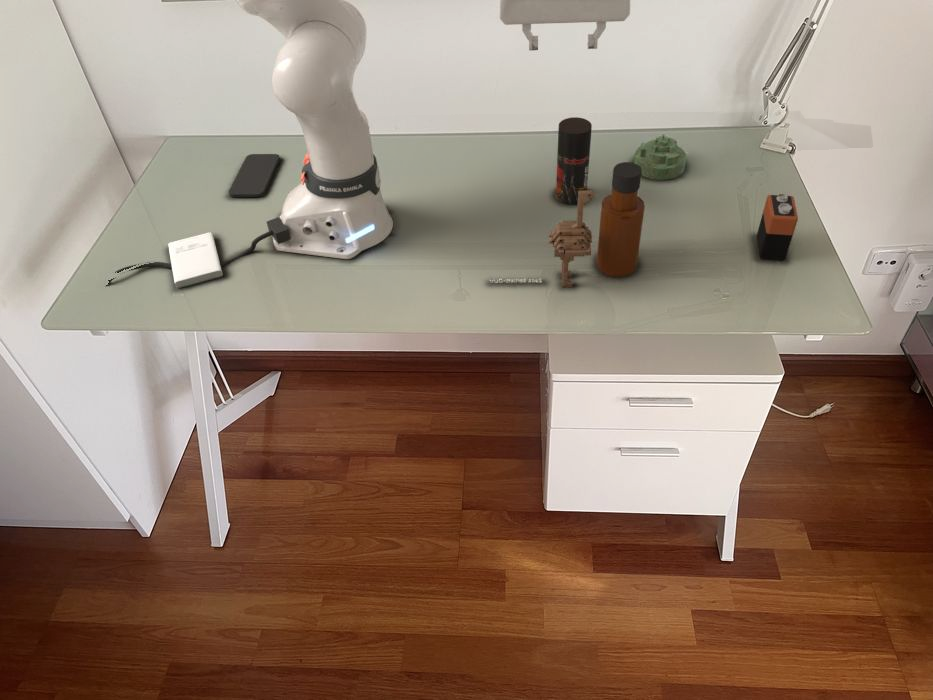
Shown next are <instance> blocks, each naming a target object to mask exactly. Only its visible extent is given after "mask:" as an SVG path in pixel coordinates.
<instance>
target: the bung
mask: <svg viewBox="0 0 933 700" xmlns="http://www.w3.org/2000/svg"><path fill="white" fill-rule="evenodd" d="M641 174H642V169H641V167H640V166H639V165H637V164H635V163H634V162H631V161H623V162H618V163H617V164H615V165H614V166H613V169H612V179H611V189H612V188H613V189H614V190H615V191H617V192H619V193H624V194H629V193H634V192H636V191H638V192H639V190H640V187H641V180H642V175H641Z"/></svg>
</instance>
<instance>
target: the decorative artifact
mask: <svg viewBox="0 0 933 700" xmlns="http://www.w3.org/2000/svg"><path fill="white" fill-rule="evenodd" d="M677 142H678V141H677V140H676V139H674V138H671V137H669V136H666V135H665V134H662V135H661V136H658V137H656V138H654V139H652V140H649V141H647V142H643V141H642V142H641V144H640V146H639V147H637V149H636V150H635V152H634V158H633V163H635V164H637V165H639V166H640V167H641V169H642V174H641V177H644V178H647V179H650V180H656V181H668V180H673V179H675V178H678V177H679V176H681V175H682V174H683V173H684V171H685V167H686V163H687V162H686V161H687V153H686V151H685V150H684V149H683V148H682V147H680V146H678V144H677Z"/></svg>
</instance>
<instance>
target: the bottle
mask: <svg viewBox="0 0 933 700" xmlns="http://www.w3.org/2000/svg"><path fill="white" fill-rule="evenodd" d="M638 193H639V190H638V191H636V192H634V193H629V194H624V193H619V192H617V191H615V190H614V189H613V188H612V187H611V194H608V195H606V197H604V198H603V199H602V201H601V209H600V219H599V231H598V241H597V253H596V267H597V268H598V270H599V271H600V272H601V273H603V274H605V275H607V276H610V277H615V278H616V277H625V276H628V275H631V274H632V273H634V271H635V270H636V269H637V265H638V257H639V251H640V243H641V236H642V230H643V222H644V217H645V216H644V215H645V207H646V206H645V201H644V200H643V199H642V198H641V197H640V196H638Z"/></svg>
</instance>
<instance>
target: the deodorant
mask: <svg viewBox="0 0 933 700" xmlns="http://www.w3.org/2000/svg"><path fill="white" fill-rule="evenodd" d="M592 128H593V126H592V123H591V121H589V120H588V119H586V118H583V117H577V116H576V117H573V116H572V117H567V118H564V119H562V120H561V121H559V123H558V129H557V130H558V131H557V132H558V134H557V157H556V179H555V180H556V184H555V198H556V200H557V201H558V202H560V203H561V204H564V205H578V191H586V190H588V183H589V181H588V180H589V167H590V156H591V143H592V142H591V140H592Z"/></svg>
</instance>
